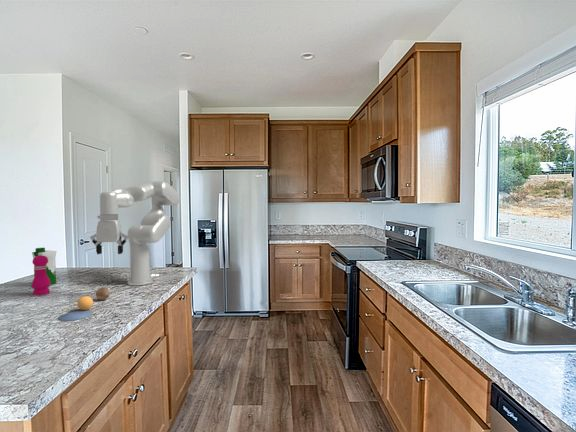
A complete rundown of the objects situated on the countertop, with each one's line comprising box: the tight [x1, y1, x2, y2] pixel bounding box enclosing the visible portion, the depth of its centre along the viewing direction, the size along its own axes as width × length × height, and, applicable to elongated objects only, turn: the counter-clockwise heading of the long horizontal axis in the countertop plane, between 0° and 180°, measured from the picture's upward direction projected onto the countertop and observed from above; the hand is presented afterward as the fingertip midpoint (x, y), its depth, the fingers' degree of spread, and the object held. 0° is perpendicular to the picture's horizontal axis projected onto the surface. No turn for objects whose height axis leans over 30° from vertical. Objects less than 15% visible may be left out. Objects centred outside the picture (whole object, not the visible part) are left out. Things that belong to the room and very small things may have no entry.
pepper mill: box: [31, 252, 51, 296], centre depth 156 cm, size 7×7×20 cm
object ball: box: [76, 295, 94, 311], centre depth 132 cm, size 6×6×6 cm
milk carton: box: [31, 247, 57, 286], centre depth 173 cm, size 9×9×20 cm
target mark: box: [57, 310, 93, 322], centre depth 125 cm, size 11×11×1 cm
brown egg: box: [95, 287, 111, 301], centre depth 146 cm, size 6×6×6 cm
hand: (109, 253), depth 154 cm, fingers open, 9 cm apart
